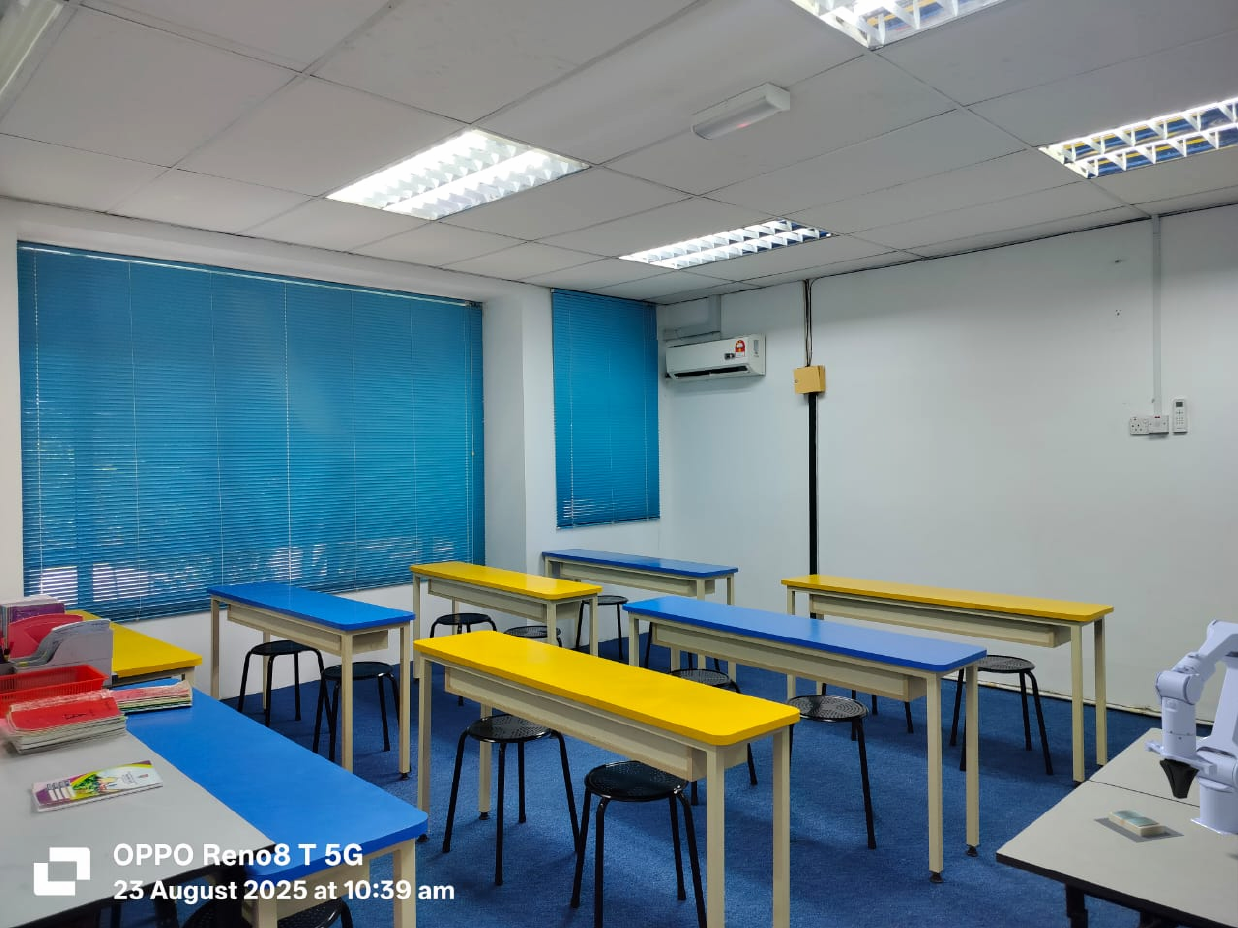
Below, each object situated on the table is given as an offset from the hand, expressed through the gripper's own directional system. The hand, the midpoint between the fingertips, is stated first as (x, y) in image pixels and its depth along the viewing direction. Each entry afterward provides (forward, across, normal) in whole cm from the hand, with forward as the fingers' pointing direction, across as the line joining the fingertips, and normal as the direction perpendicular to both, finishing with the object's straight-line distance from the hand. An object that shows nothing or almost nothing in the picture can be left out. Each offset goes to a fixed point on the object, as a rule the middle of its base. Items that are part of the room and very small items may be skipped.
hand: (1180, 797), depth 164 cm
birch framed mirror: (+8, -4, -3) cm, 10 cm away
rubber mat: (+9, -8, -3) cm, 12 cm away
